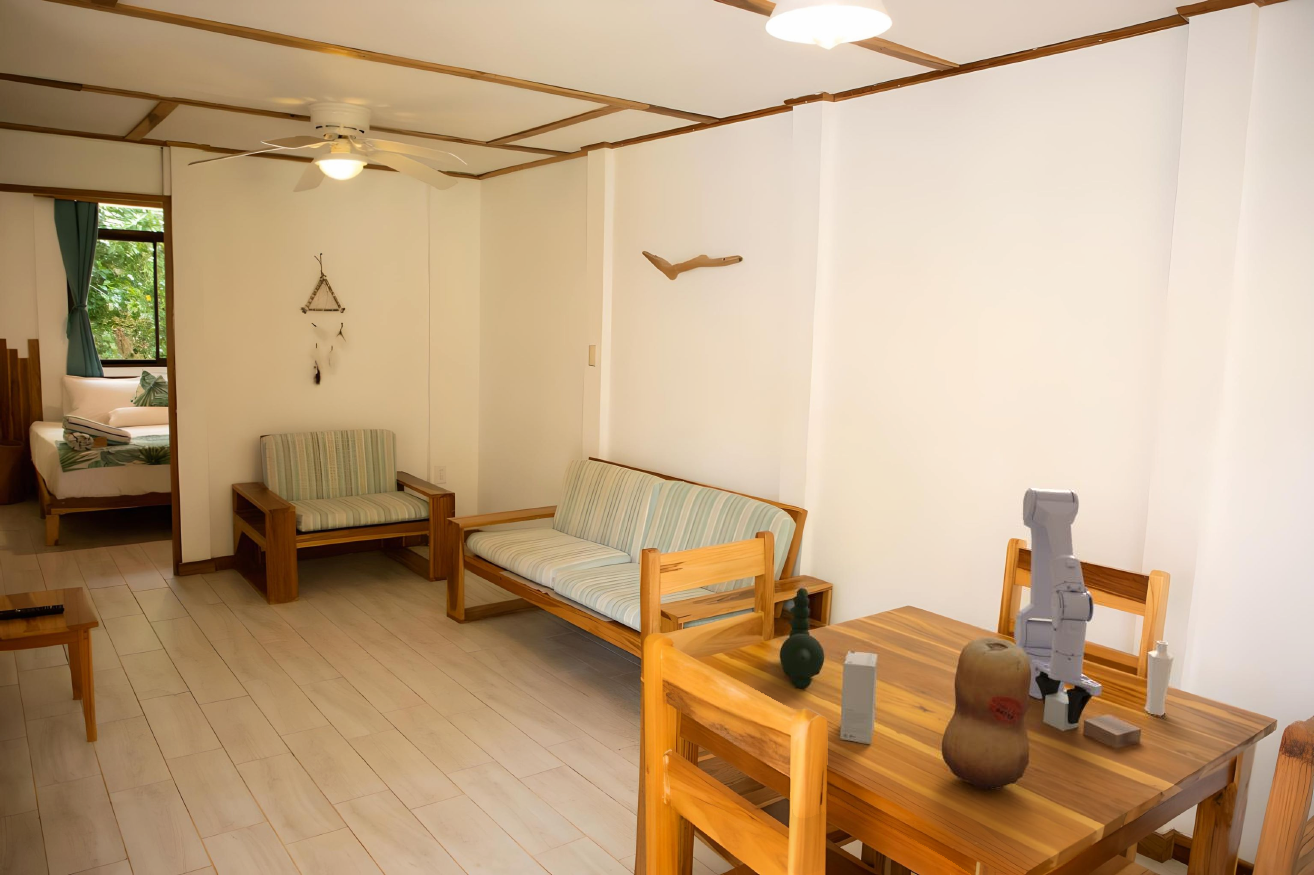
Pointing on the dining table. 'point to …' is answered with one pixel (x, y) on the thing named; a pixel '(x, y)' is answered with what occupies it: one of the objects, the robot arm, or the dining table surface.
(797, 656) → the toy figurine
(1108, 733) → the walnut slab
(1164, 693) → the perfume bottle
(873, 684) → the skincare box
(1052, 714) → the grey block
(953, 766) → the butternut squash
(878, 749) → the dining table surface
